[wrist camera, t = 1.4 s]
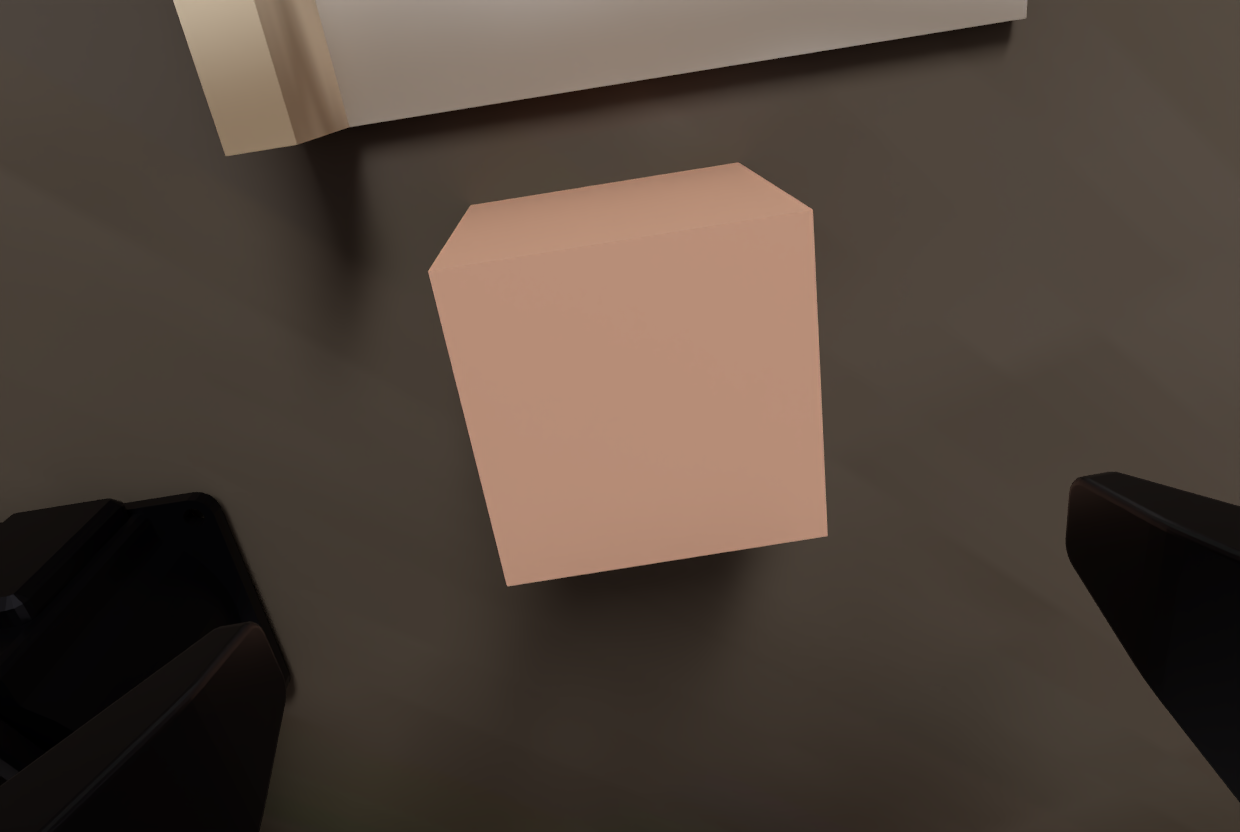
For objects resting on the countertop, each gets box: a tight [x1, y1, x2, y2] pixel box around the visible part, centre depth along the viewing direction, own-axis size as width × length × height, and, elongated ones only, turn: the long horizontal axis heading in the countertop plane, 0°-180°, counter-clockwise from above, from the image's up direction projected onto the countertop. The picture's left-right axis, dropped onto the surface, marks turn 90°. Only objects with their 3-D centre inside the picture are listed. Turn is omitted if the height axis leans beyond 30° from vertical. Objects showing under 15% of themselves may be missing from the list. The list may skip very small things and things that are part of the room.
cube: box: [428, 163, 828, 586], centre depth 16 cm, size 6×6×6 cm
